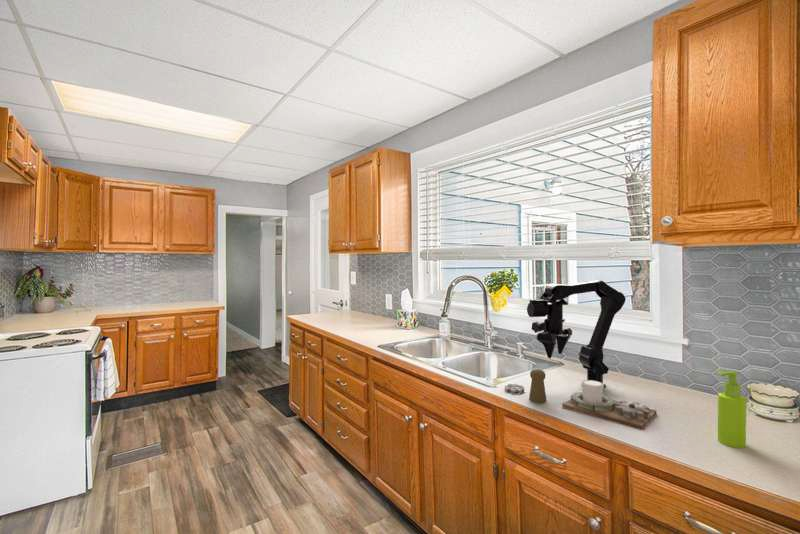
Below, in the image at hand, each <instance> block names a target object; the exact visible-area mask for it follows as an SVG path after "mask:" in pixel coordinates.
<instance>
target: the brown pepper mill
mask: <svg viewBox="0 0 800 534" xmlns="http://www.w3.org/2000/svg"><path fill="white" fill-rule="evenodd" d="M529 377H530V378H531V383H530V389H529V390H530V391H529V398H528V400H529V401H530V402H531V403H534V404H545V403H547V402H548V401H547V393H546V387H545V379H546V372H545V371H544V370H542V369H532V370H531V371H530V373H529Z"/></svg>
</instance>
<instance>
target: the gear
mask: <svg viewBox="0 0 800 534" xmlns="http://www.w3.org/2000/svg"><path fill="white" fill-rule="evenodd" d="M505 389H506V390H505ZM504 390H505V392H506V391H507V392H506V393H510V392H511V393H515V394H518V393H522V394H523V392H524V391H525V387H524V385H521V384H520V385H519V384H517V383H514V384H513V383H507V384H505V385H504ZM511 393H510V394H511ZM524 393H525V392H524Z"/></svg>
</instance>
